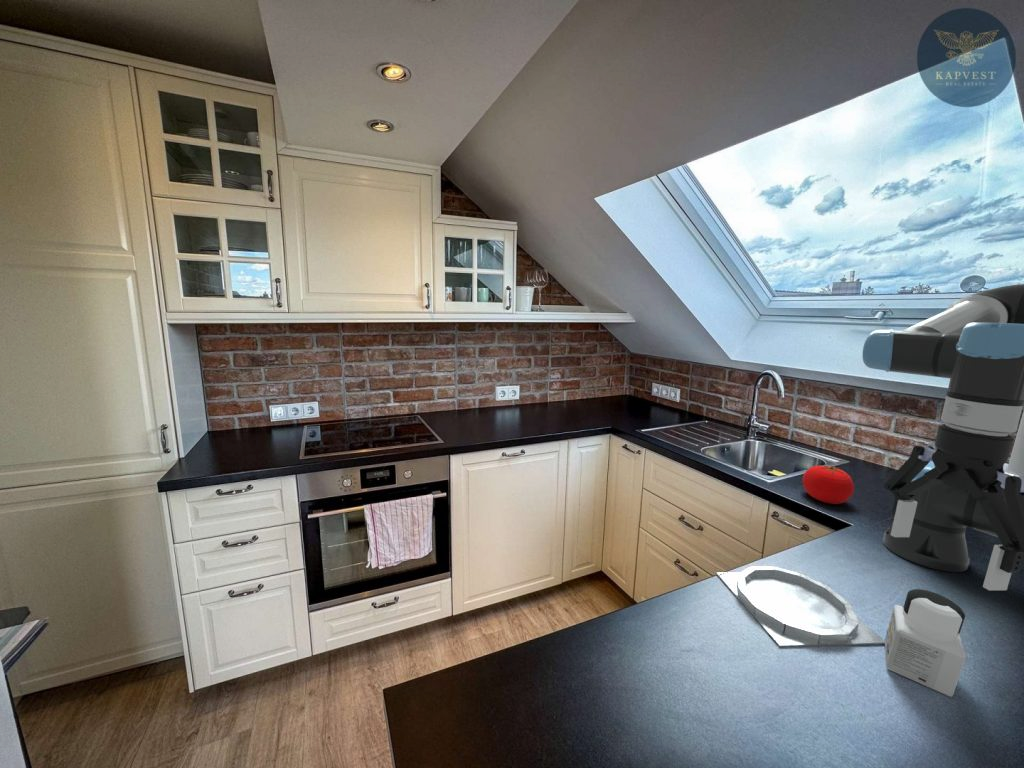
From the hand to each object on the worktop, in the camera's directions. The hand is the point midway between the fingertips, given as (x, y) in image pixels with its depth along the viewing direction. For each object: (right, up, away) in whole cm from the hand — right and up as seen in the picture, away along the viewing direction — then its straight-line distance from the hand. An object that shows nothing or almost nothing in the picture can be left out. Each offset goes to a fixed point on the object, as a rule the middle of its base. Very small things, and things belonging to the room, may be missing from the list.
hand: (942, 559), depth 65 cm
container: (-1, -19, +4) cm, 20 cm away
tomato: (+31, -9, +66) cm, 74 cm away
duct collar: (-12, -16, +18) cm, 27 cm away
